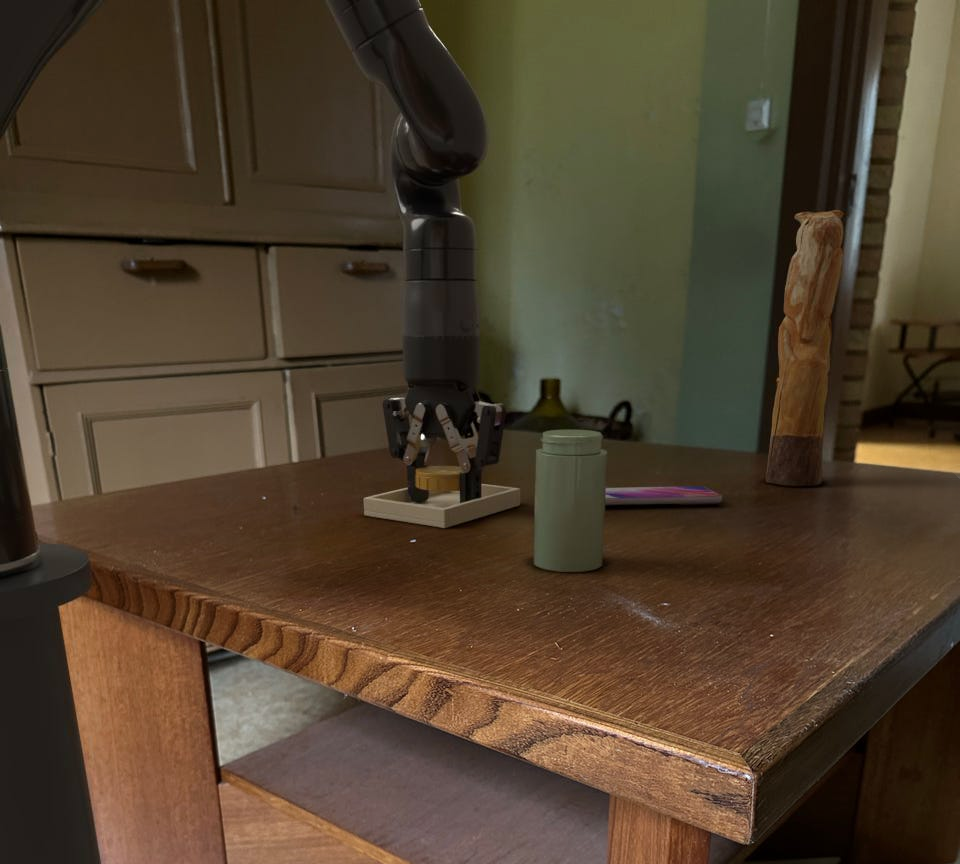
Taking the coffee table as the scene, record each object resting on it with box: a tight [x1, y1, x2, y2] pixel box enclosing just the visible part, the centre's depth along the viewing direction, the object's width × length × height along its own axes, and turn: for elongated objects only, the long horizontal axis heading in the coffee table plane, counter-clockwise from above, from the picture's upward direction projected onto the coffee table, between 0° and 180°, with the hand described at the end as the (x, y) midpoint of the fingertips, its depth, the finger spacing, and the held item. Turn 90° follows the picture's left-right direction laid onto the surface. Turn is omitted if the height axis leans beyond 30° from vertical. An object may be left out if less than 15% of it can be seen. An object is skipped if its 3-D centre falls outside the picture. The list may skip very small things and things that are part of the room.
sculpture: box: [765, 209, 844, 488], centre depth 105 cm, size 7×9×30 cm
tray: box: [363, 483, 521, 529], centre depth 94 cm, size 13×10×2 cm
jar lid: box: [415, 465, 463, 491], centre depth 93 cm, size 6×6×2 cm
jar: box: [532, 429, 609, 573], centre depth 72 cm, size 6×6×10 cm
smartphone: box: [605, 485, 723, 506], centre depth 98 cm, size 7×1×15 cm
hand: (443, 503), depth 94 cm, fingers closed on jar lid, 5 cm apart
